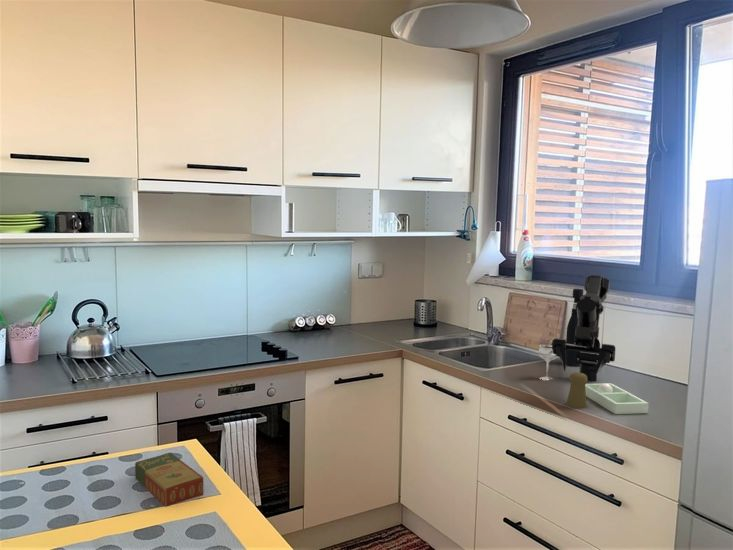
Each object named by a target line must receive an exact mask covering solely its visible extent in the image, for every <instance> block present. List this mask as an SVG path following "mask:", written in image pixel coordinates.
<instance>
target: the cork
mask: <svg viewBox="0 0 733 550" xmlns="http://www.w3.org/2000/svg"><path fill="white" fill-rule="evenodd" d="M569 382H570V386H569V391H568V395H567V401H566V405H567V406H568V407H569V408H570V407H571V408H573V409H586V408H588V407H587V396H586V389H585V384H588V382H589V381H588V378H587V376H586V375H585V374H583V373H579V372H578V371H577V372H575V371H574V372H572V373H570V375H569Z"/></svg>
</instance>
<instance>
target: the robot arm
mask: <svg viewBox="0 0 733 550" xmlns="http://www.w3.org/2000/svg"><path fill="white" fill-rule="evenodd" d="M610 284H611V283H610V279H607V278H605V277H604V275H600V274H590V275H589V274H588V277H585V279H584V285H583V290H584V291H585V294H583V296H581V299H580V301H579V302H578V303H576V304H577V305H576V311H577V318H578V325H577V327H576V330H575V336H574V342H575V344H566V338H565V339H564V338H554V339H552V343H551V345H552V350H553V354H556V355H557V358H559V359H560V361H561V364H562V369H563V371H564V372H565V371H566V370H567V365H566V350H570V351H576V364H580V366H579V372H578V373H583V374H585V375H586V376H587V378H588V381H587V382H597V380H598V379H597V378H598V374H599V372H600V371H601V369H602V368H603V367H604V366H605V365H606V364H609V363H611V362H613V363H614V362H615V361H616V360H615V359H616V345H614V344H607V343H602V344H601V343H600V339H599V334H600V333H599V332H600V327H599V326H600V324H599V323H600V318H601V317H600V315H601V314H603V312H604V310H605V307H604V305H603V302H604V301H605V300H606V299H607V297H608V293H610V287H611V286H610Z"/></svg>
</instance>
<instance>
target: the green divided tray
mask: <svg viewBox="0 0 733 550" xmlns="http://www.w3.org/2000/svg"><path fill="white" fill-rule="evenodd" d="M600 384H601V383H586V384H585V389H586V398H588V399H590V400H592V401H594V402H595V403H597V404H599V405H600V406H602V407H603V408H605V409H606V410H608V411H610V412H611V413H613V414H615V415H622V414H623V415H624V414H625V415H627V414H628V415H629V414H648V413H649V402H647V401H646V400H643V399H641V398H639V397H638V396H636V395H634V394H633V393H630V392H629V391H626V390H625V389H623V388H621V387H619V386H617V385H616V384H613V383H607V382H606V384H609V385H610V386H611V387H612V389H613V393H599V392H598V391H597V389H598V386H599V385H600Z"/></svg>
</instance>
